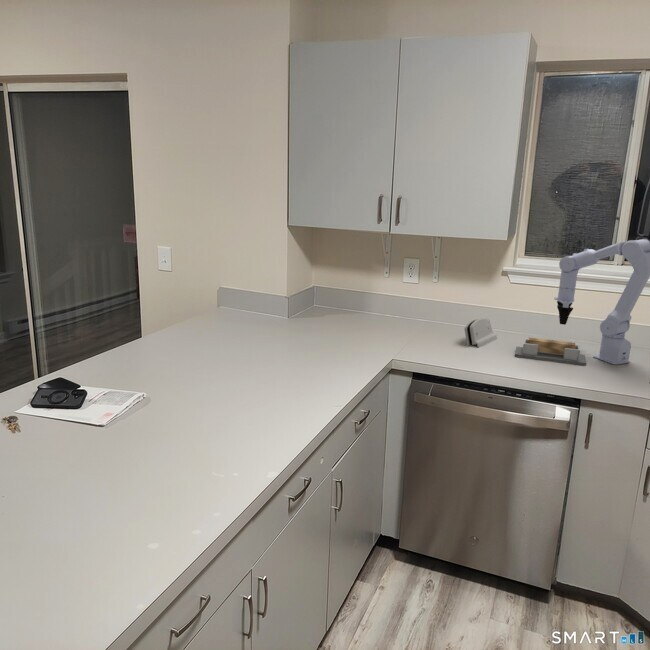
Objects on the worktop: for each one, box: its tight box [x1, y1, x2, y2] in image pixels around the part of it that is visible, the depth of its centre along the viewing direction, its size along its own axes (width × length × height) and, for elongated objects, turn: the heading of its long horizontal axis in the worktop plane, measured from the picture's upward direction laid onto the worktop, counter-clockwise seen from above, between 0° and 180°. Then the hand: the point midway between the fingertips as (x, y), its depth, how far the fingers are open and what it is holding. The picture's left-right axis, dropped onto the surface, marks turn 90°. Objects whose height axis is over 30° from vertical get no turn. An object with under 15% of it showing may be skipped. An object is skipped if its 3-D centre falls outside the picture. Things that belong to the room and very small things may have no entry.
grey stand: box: [464, 318, 498, 349], centre depth 231 cm, size 17×5×10 cm, turn 139°
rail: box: [527, 337, 576, 355], centre depth 214 cm, size 16×3×4 cm, turn 70°
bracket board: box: [514, 338, 587, 367], centre depth 214 cm, size 24×10×5 cm, turn 70°
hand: (562, 321), depth 227 cm, fingers open, 7 cm apart
